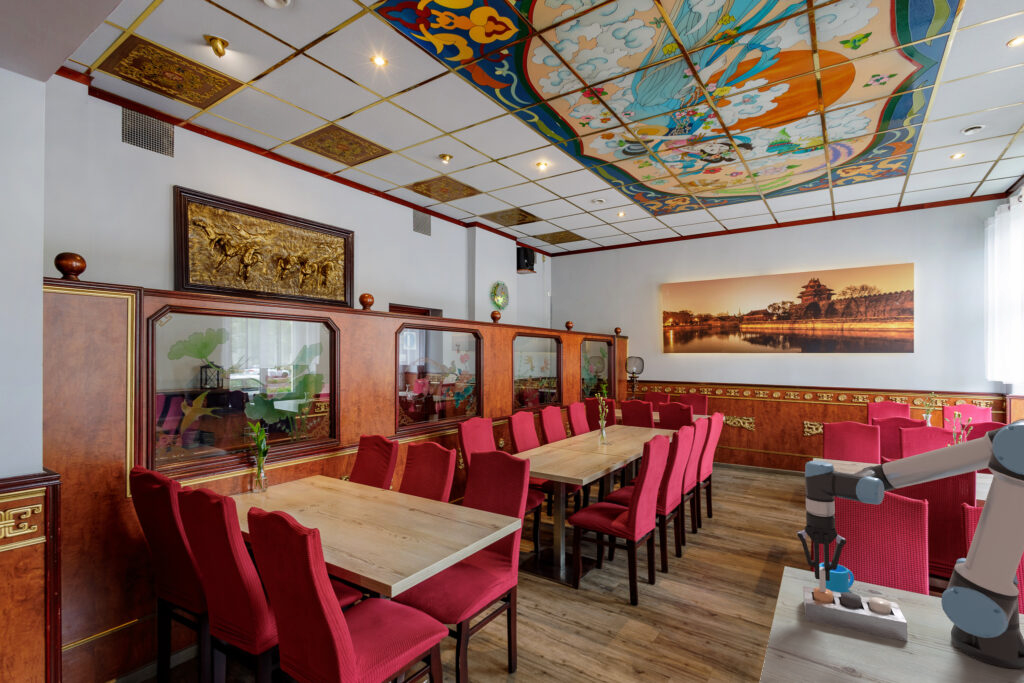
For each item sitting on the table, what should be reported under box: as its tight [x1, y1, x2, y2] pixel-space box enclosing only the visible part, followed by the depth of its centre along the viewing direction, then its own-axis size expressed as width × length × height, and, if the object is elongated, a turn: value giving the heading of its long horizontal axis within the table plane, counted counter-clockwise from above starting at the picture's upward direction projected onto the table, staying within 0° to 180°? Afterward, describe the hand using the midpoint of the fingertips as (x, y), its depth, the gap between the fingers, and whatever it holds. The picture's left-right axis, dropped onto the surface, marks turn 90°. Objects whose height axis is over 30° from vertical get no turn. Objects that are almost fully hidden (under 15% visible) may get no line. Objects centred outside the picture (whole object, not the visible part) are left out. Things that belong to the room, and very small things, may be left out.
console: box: [802, 585, 909, 642], centre depth 143 cm, size 24×12×5 cm, turn 62°
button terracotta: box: [813, 586, 833, 604], centre depth 147 cm, size 5×5×4 cm
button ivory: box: [868, 596, 891, 615], centre depth 140 cm, size 5×5×4 cm
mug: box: [819, 562, 855, 593], centre depth 161 cm, size 12×8×8 cm
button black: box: [841, 591, 862, 609], centre depth 144 cm, size 5×5×4 cm
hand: (822, 590), depth 147 cm, fingers closed
